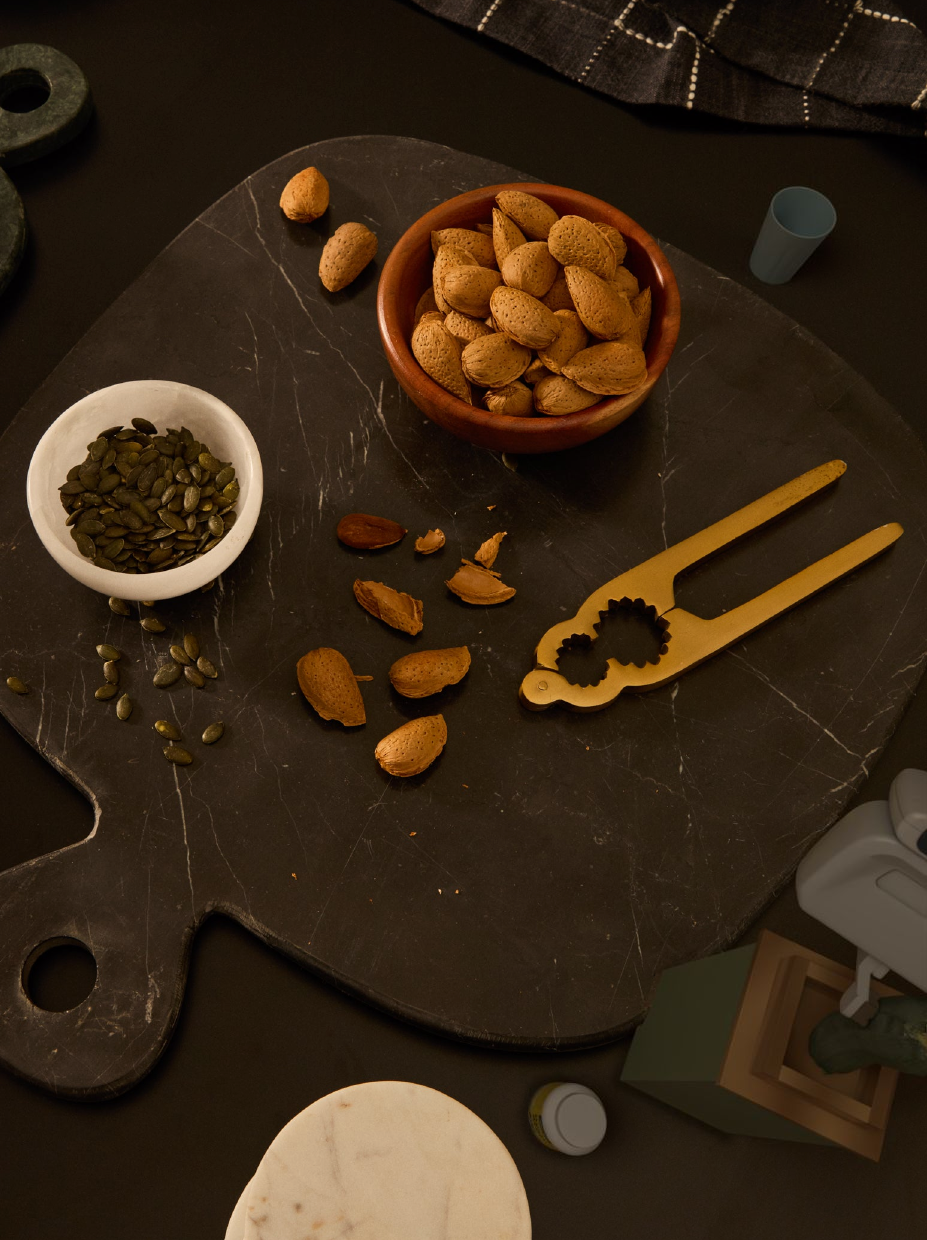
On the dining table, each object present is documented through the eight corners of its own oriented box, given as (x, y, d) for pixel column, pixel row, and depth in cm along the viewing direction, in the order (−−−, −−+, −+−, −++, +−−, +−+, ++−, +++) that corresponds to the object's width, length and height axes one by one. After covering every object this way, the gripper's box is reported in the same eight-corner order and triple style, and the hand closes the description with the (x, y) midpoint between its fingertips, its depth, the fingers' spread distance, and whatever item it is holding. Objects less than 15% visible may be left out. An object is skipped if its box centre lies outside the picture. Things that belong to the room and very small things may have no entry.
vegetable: (779, 1021, 79) (918, 1003, 61) (833, 997, 80) (985, 971, 62) (812, 1088, 78) (965, 1089, 60) (867, 1063, 78) (1034, 1056, 60)
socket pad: (909, 1000, 81) (938, 996, 78) (871, 1162, 77) (900, 1166, 73) (759, 930, 83) (781, 923, 79) (714, 1085, 78) (735, 1085, 75)
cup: (810, 289, 143) (846, 233, 134) (751, 296, 142) (783, 240, 133) (790, 241, 146) (823, 183, 137) (732, 247, 145) (762, 189, 136)
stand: (756, 1021, 106) (900, 1004, 81) (724, 1133, 102) (866, 1151, 77) (653, 972, 108) (764, 940, 82) (618, 1080, 104) (723, 1081, 78)
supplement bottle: (514, 1114, 102) (535, 1117, 93) (556, 1068, 104) (581, 1067, 95) (558, 1165, 101) (584, 1174, 92) (600, 1118, 102) (629, 1122, 93)
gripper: (1217, 964, 64) (1051, 1122, 69) (879, 751, 68) (747, 914, 73) (1256, 1034, 58) (1072, 1200, 63) (884, 796, 62) (740, 970, 68)
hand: (894, 1045), depth 68 cm, fingers closed on vegetable, 4 cm apart
